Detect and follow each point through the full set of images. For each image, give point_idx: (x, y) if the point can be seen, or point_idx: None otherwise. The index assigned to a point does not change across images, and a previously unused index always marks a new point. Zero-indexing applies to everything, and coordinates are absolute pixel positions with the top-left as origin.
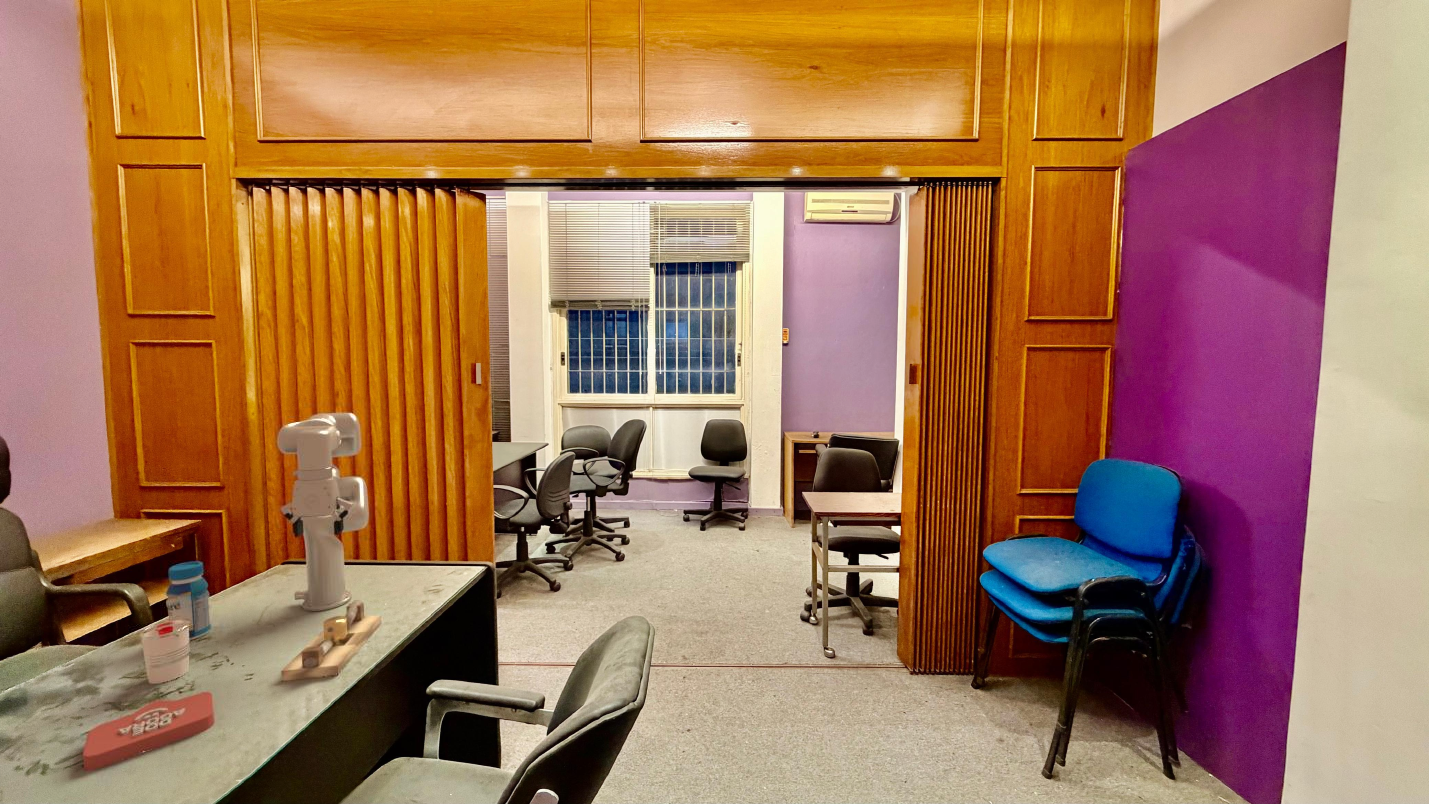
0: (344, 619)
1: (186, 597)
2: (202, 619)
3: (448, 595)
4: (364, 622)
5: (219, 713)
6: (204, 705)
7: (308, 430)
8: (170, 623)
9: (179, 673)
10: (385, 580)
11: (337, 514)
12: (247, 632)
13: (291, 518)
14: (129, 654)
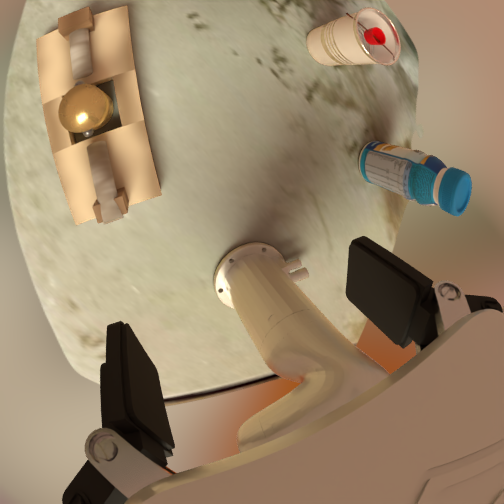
0: (61, 116)
1: (419, 160)
2: (377, 162)
3: (55, 329)
4: (84, 189)
5: None
6: None
7: None
8: (388, 62)
9: (310, 35)
10: (208, 353)
11: (122, 491)
12: (309, 165)
13: (463, 305)
14: (398, 118)
